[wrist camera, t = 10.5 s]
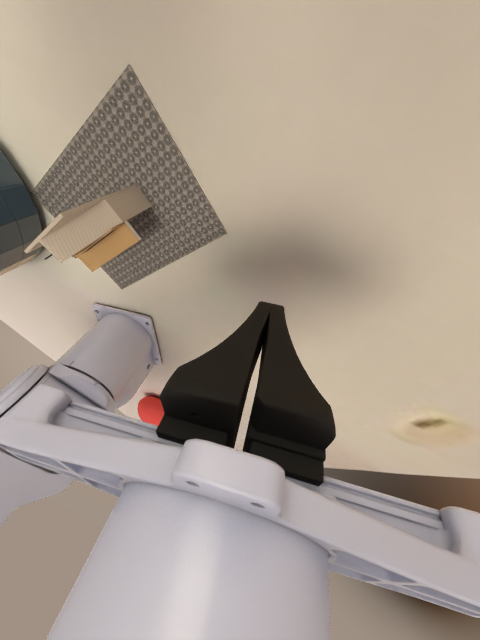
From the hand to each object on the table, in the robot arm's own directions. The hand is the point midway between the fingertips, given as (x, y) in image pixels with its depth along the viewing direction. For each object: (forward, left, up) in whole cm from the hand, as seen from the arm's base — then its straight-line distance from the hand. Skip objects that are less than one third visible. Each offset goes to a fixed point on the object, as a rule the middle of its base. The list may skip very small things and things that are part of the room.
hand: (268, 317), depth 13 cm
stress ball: (-34, +15, -9) cm, 38 cm away
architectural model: (+1, +14, -9) cm, 17 cm away
